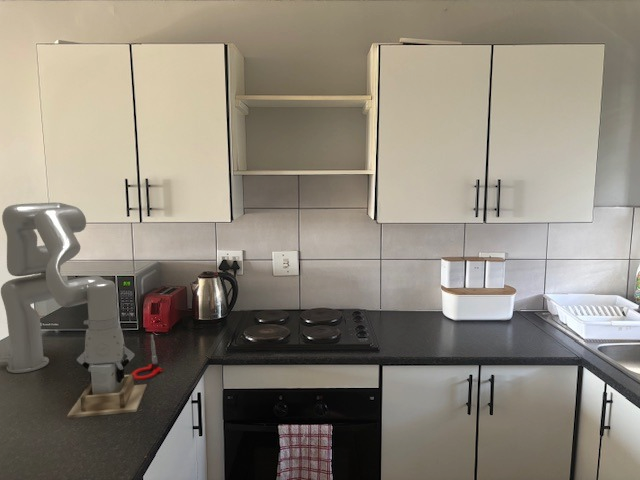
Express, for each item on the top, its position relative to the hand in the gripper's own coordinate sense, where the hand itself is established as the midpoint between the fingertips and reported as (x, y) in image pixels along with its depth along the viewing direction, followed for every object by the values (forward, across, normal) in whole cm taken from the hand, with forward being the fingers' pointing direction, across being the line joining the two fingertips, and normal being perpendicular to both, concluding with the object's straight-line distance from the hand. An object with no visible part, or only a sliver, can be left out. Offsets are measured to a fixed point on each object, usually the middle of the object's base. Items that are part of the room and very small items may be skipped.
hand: (107, 381), depth 136 cm
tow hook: (+7, +7, +18) cm, 20 cm away
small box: (+4, 0, 0) cm, 4 cm away
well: (+6, 0, 0) cm, 6 cm away
